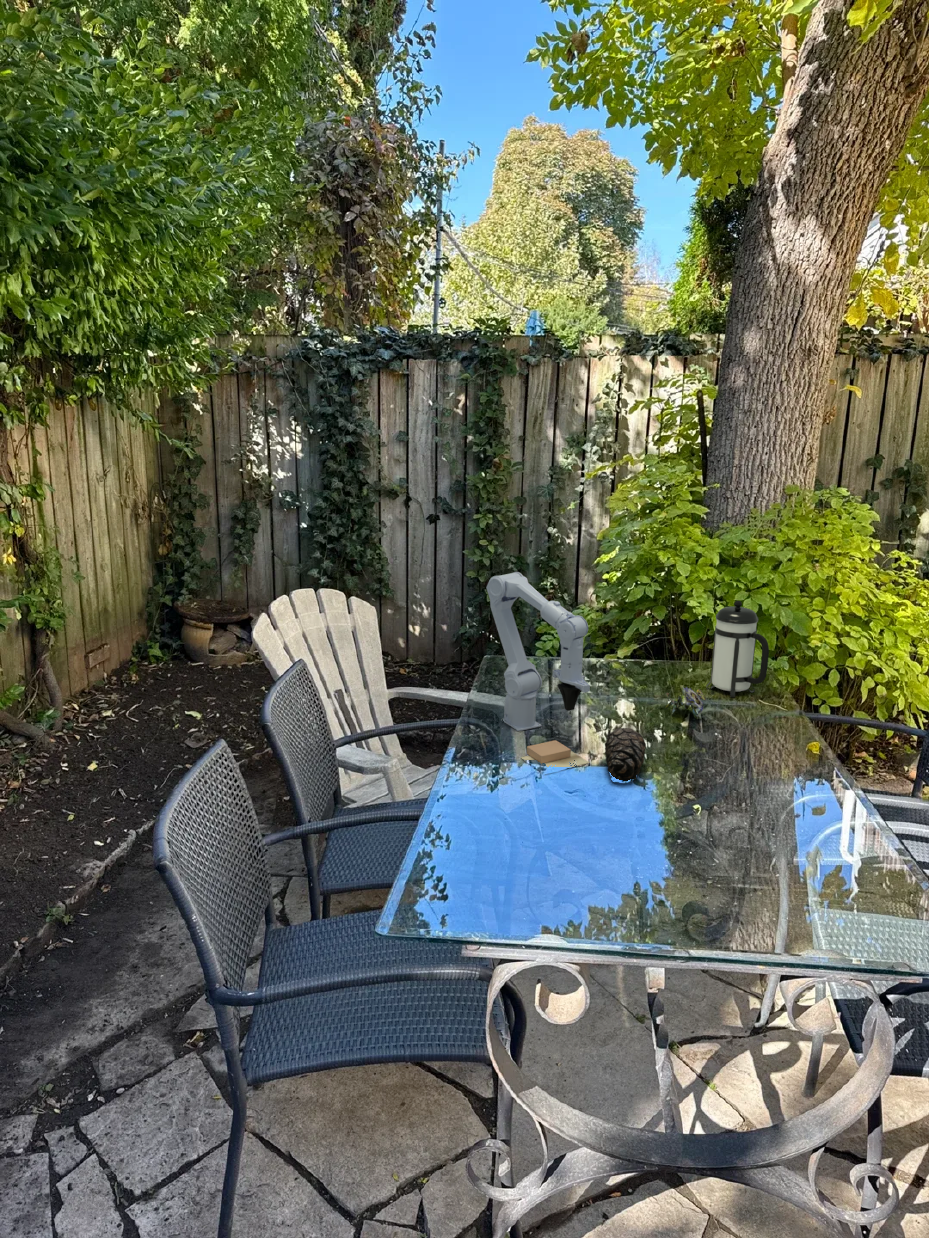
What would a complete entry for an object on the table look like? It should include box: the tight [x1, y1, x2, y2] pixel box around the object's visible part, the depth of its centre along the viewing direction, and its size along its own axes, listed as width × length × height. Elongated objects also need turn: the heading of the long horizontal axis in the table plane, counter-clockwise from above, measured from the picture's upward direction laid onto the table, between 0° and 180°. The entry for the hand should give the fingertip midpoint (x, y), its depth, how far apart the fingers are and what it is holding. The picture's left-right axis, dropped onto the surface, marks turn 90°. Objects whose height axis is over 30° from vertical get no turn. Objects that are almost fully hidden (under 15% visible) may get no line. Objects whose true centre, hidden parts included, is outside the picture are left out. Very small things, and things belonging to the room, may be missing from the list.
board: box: [520, 750, 591, 768], centre depth 205 cm, size 11×14×1 cm
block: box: [526, 739, 572, 764], centre depth 207 cm, size 2×9×7 cm
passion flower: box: [665, 684, 707, 720], centre depth 235 cm, size 11×11×12 cm
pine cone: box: [604, 727, 647, 781], centre depth 198 cm, size 10×18×10 cm, turn 173°
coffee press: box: [706, 600, 770, 699], centre depth 253 cm, size 17×16×30 cm
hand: (569, 709), depth 215 cm, fingers closed
